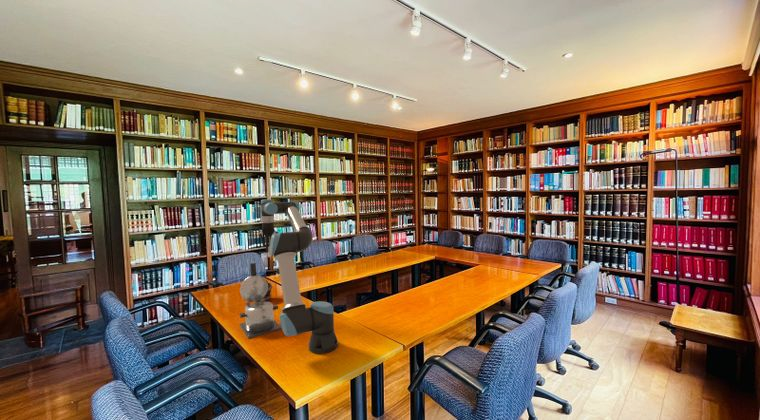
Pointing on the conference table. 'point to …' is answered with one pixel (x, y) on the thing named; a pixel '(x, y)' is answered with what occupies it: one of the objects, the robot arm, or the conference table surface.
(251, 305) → the cooker
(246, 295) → the lid
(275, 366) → the conference table surface
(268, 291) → the flowerpot
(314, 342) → the robot arm
